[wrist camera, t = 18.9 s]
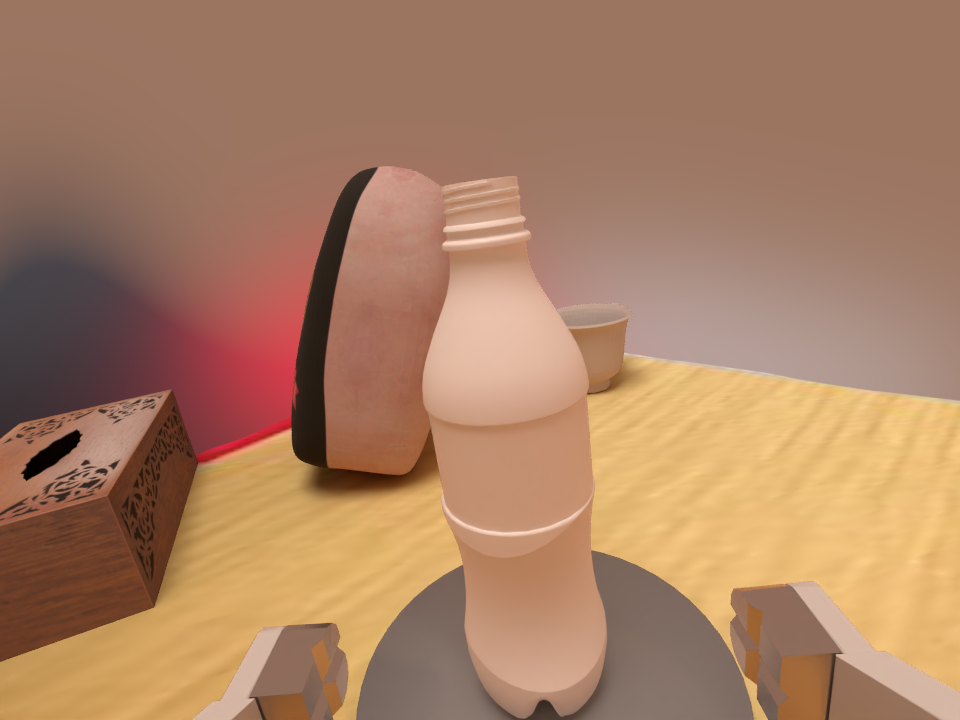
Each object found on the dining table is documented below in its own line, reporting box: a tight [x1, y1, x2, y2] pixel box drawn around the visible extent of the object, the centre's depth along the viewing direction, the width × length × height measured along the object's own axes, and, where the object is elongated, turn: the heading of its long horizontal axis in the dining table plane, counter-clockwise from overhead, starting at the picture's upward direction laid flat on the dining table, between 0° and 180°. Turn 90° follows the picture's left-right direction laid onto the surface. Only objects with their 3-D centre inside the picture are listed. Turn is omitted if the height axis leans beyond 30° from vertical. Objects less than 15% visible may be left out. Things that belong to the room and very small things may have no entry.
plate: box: [356, 550, 754, 720], centre depth 27 cm, size 20×20×1 cm
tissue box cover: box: [0, 389, 198, 662], centre depth 45 cm, size 26×14×10 cm, turn 23°
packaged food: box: [291, 166, 450, 475], centre depth 52 cm, size 22×20×30 cm
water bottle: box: [422, 176, 607, 719], centre depth 23 cm, size 7×7×25 cm
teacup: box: [556, 302, 632, 393], centre depth 66 cm, size 12×15×10 cm
